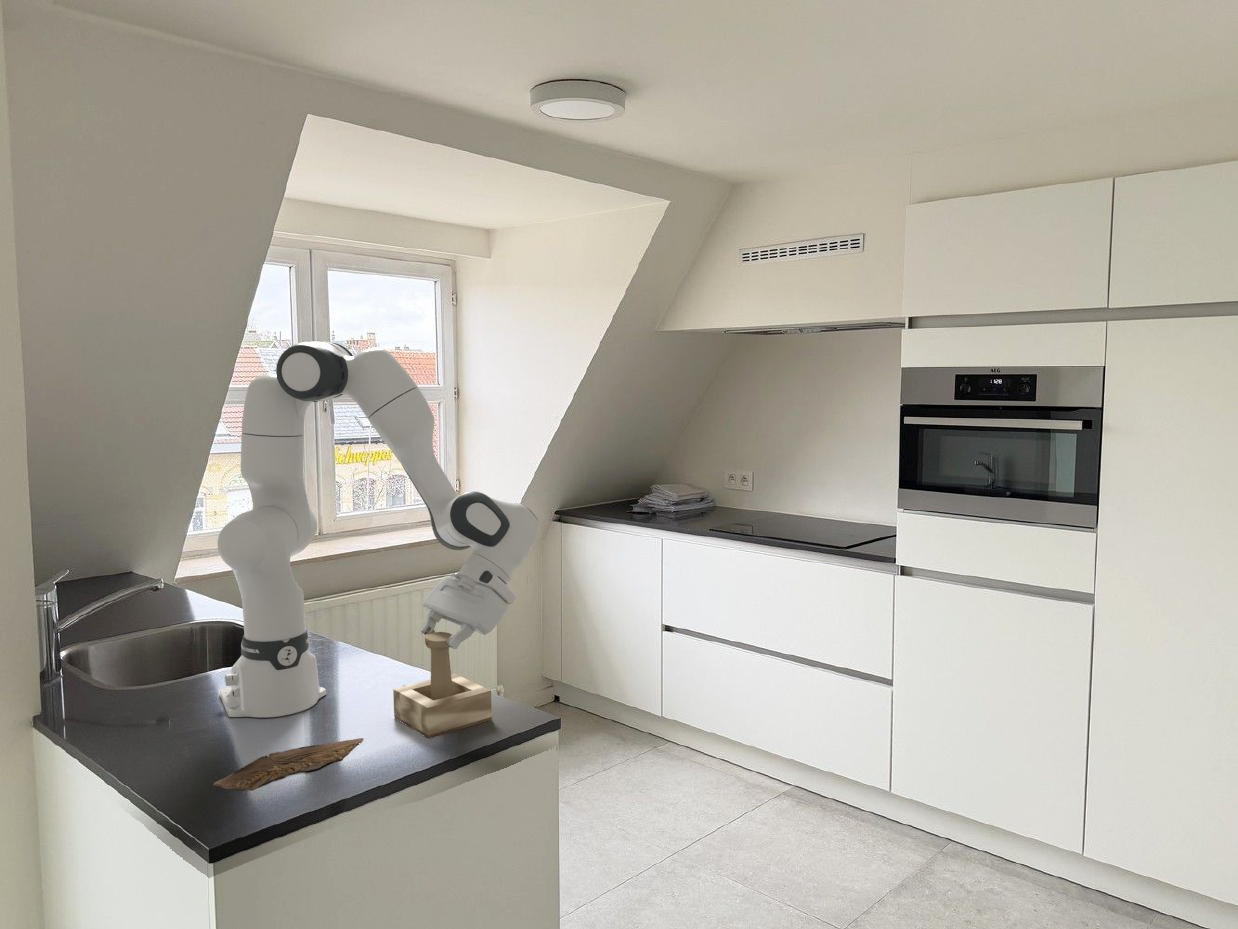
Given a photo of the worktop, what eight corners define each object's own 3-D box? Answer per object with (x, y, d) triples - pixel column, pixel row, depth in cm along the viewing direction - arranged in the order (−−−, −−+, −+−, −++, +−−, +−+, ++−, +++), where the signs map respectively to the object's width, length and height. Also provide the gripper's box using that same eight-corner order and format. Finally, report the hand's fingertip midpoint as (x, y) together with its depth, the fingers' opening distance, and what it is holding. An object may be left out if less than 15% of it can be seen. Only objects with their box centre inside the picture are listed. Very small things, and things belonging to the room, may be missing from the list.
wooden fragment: (227, 800, 140) (226, 793, 140) (202, 777, 148) (202, 771, 148) (381, 752, 158) (381, 746, 157) (352, 734, 166) (351, 728, 166)
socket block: (394, 718, 172) (393, 689, 171) (455, 701, 180) (454, 673, 180) (428, 738, 162) (427, 707, 161) (491, 720, 170) (491, 690, 170)
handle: (437, 723, 167) (433, 642, 166) (423, 713, 173) (420, 635, 171) (461, 717, 170) (458, 638, 168) (447, 707, 175) (444, 630, 174)
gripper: (442, 562, 181) (398, 620, 175) (500, 579, 165) (454, 643, 160) (463, 580, 184) (420, 638, 179) (521, 599, 169) (477, 663, 163)
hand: (437, 641), depth 169 cm, fingers open, 8 cm apart
